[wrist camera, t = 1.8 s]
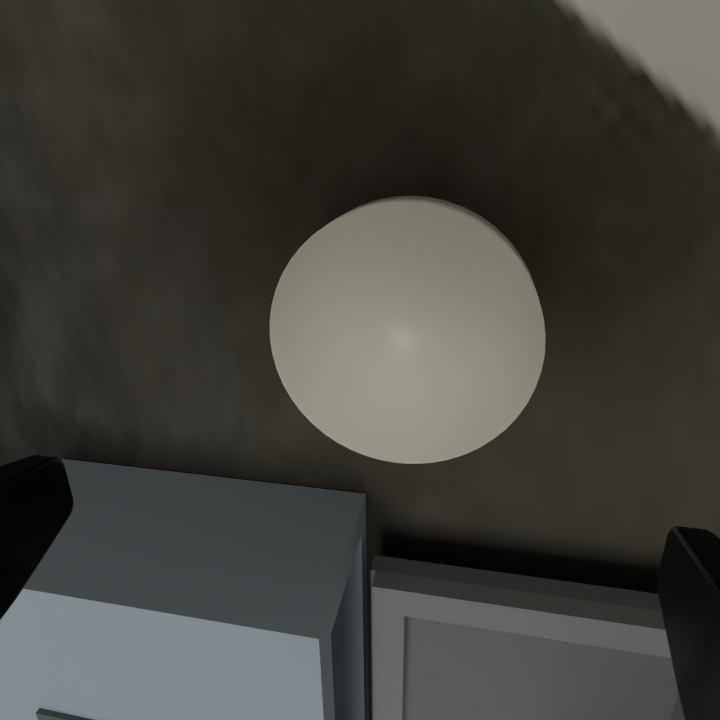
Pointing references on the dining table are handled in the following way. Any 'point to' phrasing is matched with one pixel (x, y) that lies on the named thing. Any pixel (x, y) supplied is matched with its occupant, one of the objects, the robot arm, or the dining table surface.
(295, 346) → the cream disc
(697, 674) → the robot arm
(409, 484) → the dining table surface
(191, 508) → the box
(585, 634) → the tray
